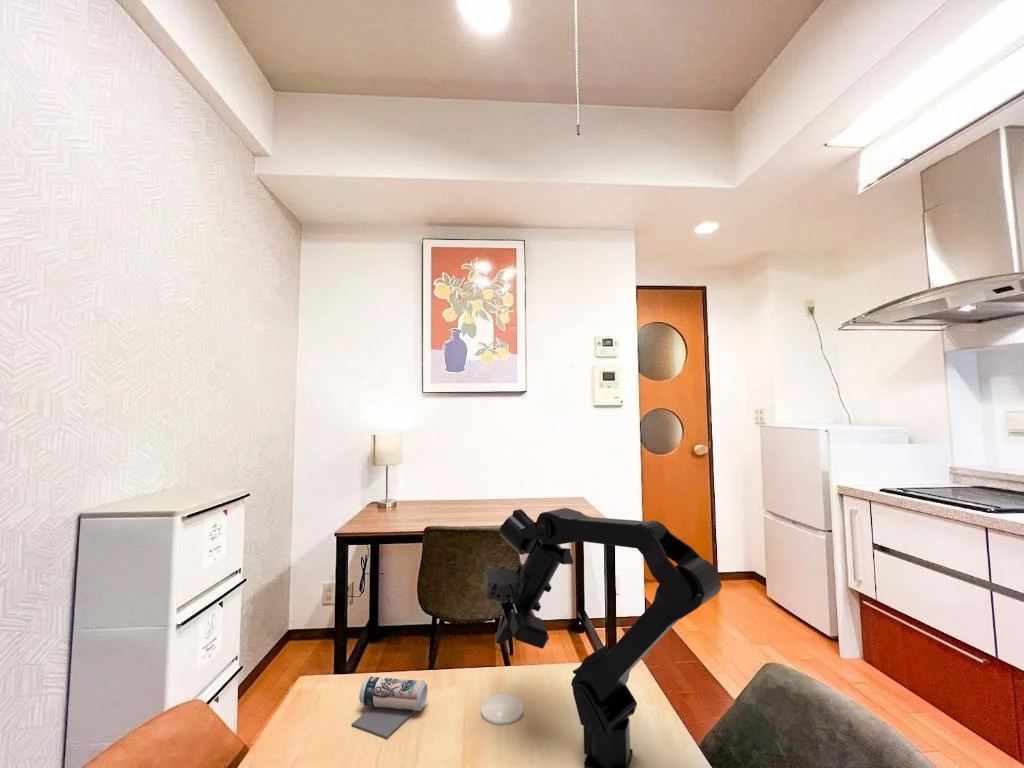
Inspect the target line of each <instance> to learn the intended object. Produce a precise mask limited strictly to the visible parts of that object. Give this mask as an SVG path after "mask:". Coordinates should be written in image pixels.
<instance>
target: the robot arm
mask: <svg viewBox="0 0 1024 768" xmlns="http://www.w3.org/2000/svg"><path fill="white" fill-rule="evenodd" d="M499 535H500V536H501V538H502V539H503V540H505V542H506V543H508V545H510V547H512V549H514V550H515V551H516V552H517V553H518V554H519V555H521V556H522V555H526V554H527V557H526V559H525V561H524V563H520V562H519V563H518V564H516V565H515V567H514V568H513V569H512V568H511V567H507V566H505V565H504V566H501V567H498V568H487V569H485V573H484V579H483V584H482V585H483V590H484V594H485V597H486V598H487V599H489V600H495V601H496V602H500V606H501V614H500V619H499V623H498V626H497V631H496V636H495V643H496V644H498V645H502V644H504V643H505V642H506V641H509V640H510V639H511V638H514V639H515V640H516V641H519V642H521V643H524V644H526V645H530V646H533V647H536V648H538V649H542V650H543V649H544V648H545V646H546V645H547V643H548V641H549V639H550V637H549V633H548V630H547V627H546V626H545V623H544V621H543V619H542V618H540V617H538V616H536V614H535V612H540V610H541V609H542V606H541V604H540V601H541V598H543V597H542V596H543V594H544V593H545V592H547V593H550V591H551V590H552V589H553V588H552V586H551V584H550V582H551V581H552V578H553V576H554V575H555V573H556V572H557V569H558V567H559V566H560V564H561V565H573V564H574V558H573V556H572V553H571V552H572V551H571V548H570V547H569V548H565V547H562V546H561V545H563V544H569V543H570V544H571V543H578V542H579V543H580V542H582V543H592V544H600V545H608V546H614V547H623V548H624V547H625V548H629V549H630V548H631V549H637V550H638V551H639V553H640V554H641V555H642V556H643V559H644V561H645V563H646V566H647V567H648V570H649V572H650V574H651V576H652V577H653V578H654V580H655V581H656V582H657V583H658V586H657V588H656V590H655V594H654V597H653V602H652V603H651V604H650V605H649V607H648V608H647V609H645V611H644V612H643V613H642V614H641V616H640V617H639V618H638V619H636V621H635V622H634V623H633V624H632V625H631V626H630V628H629V629H628V630H627V631H626V632H625V633H624V634H623V635H622V637H621V638H619V640H618V641H617V642H616V643H615V644H614V645H613V646H612V648H611V649H609V647H608V645H607V644H604V645H603V646H601V647H600V648H599V649H597V650H595V651H593V652H591V653H590V654H588V656H585V658H584V659H583V661H582V662H581V664H580V666H578V667H577V668H575V669H574V670H572V674H574V676H573V678H572V679H571V684H570V685H571V687H572V693H573V699H574V703H575V707H576V710H577V713H578V714H577V715H578V718H579V722H580V726H583V754H584V755H585V758H584V761H583V765H584V768H630V766H631V765H630V764H631V761H632V758H633V752H634V751H633V749H632V748H631V741H630V740H631V735H630V734H631V733H630V732H631V731H630V718H629V717H631V716H632V715H634V714H635V712H636V709H637V705H638V703H637V700H636V699H635V697H634V695H633V694H632V692H631V691H630V689H629V687H628V686H627V683H628V681H629V678H630V673H631V671H632V670H633V668H635V666H636V665H637V664H638V663H639V662H640V661H641V660H642V659H643V658H644V657H645V656H646V655H647V654H648V653H649V652H650V651H651V650H652V649H653V648H654V647H655V645H656V644H657V643H659V641H660V640H661V639H662V638H663V637H664V636H665V635H667V633H668V632H669V631H670V630H671V629H672V628H673V627H674V626H675V625H676V624H677V622H679V621H680V620H682V619H683V618H685V617H686V616H688V615H690V614H691V613H692V612H694V611H696V610H697V609H699V608H700V607H702V606H704V605H705V603H707V602H709V601H710V600H712V599H713V598H714V597H716V596H717V595H718V594H719V593H720V592H721V589H722V580H721V576H720V573H719V572H718V570H717V569H716V567H715V566H714V564H712V563H711V562H710V561H708V560H706V559H705V558H703V557H701V555H700V554H699V553H697V551H696V550H695V549H694V548H693V547H691V546H690V545H689V544H687V543H686V542H685V541H683V540H682V539H680V538H679V537H677V535H674V534H673V533H672V532H671V531H670V530H669V529H668V528H667V527H666V526H665V525H664V523H661V521H660V522H659V521H658V520H655V519H651V520H646V521H645V520H635V519H634V520H633V519H621V518H608V517H595V516H590V515H586V514H584V513H582V512H581V511H578V510H574V509H572V508H567V507H563V508H558V509H554V510H549V511H543V512H541V513H539V514H538V516H537V519H536V520H535V521H534V520H533V519H532V518H531V517H529V515H527V513H526V512H525V511H524V510H523V509H522V508H519V509H515V510H513V511H512V514H511V515H510V516H508V517H507V519H505V521H504V522H503V523H502V524H501V525H500V527H499ZM672 561H673V562H674V563H675V564H676V565H675V564H673V562H672Z"/></svg>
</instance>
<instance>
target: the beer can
mask: <svg viewBox="0 0 1024 768" xmlns="http://www.w3.org/2000/svg"><path fill="white" fill-rule="evenodd" d="M358 696H359V697H358V699H359V702H360V703H361V704H362V705H363V706H364V707H373V706H374V707H384V708H395V709H405V710H416V712H417V711H418V712H421V711H422V710H423V708H424V707H425V705H426V701H427V697H428V685H427V683H426V680H416V679H405V678H404V679H403V678H392V677H381V676H373V675H370V676H368V677H366V678H365V679H364V680H363V681H362V683H361V687H360V688H359V695H358Z"/></svg>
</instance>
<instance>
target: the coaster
mask: <svg viewBox="0 0 1024 768" xmlns="http://www.w3.org/2000/svg"><path fill="white" fill-rule="evenodd" d="M523 714H524V703H523V702H522V700H521V699H520V698H519V697H518V696H516V695H513V694H510V693H504V692H503V693H494V694H492V695H488V696H487V697H486V698H484V700H482V701H481V703H480V716H481V717H482V718H483V720H484V721H485V722H486V723H487V722H488V723H489V724H492V725H497V726H507V725H511V724H514V723H515V722H518V721H519V720H520V719H521V718H522V717H523Z"/></svg>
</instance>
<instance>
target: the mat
mask: <svg viewBox="0 0 1024 768" xmlns="http://www.w3.org/2000/svg"><path fill="white" fill-rule="evenodd" d="M416 712H417V711H416V710H405V709H395V708H384V707H374V706H371V707H370V708H369V709H368V710H367V711H365V712H364V713H363V714H362V715H361V716H359V717H358V718H357V719H356V720H355V721H353V722H351V727H353V728H356V729H358V730H361V731H364V732H366V733H368V734H369V733H370V734H372V735H373V736H374V735H375V736H378V737H379V738H383V739H385V740H388V739H389V738H390V737H391V736H392V735H393V734H395V733H396V732H397V730H398V729H399V728H401V726H403V725H404V724H405V723H406V722H407V721H408V720H409V719H410V718H411V717H413V715H414V714H415V713H416Z"/></svg>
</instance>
